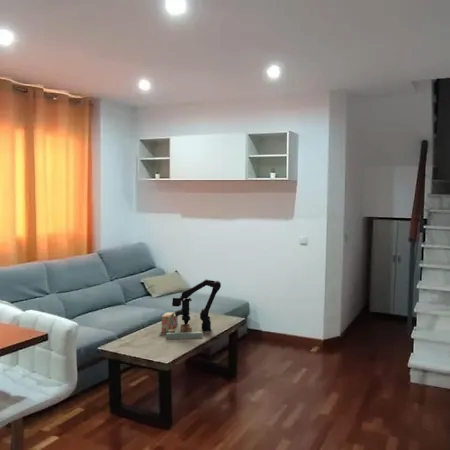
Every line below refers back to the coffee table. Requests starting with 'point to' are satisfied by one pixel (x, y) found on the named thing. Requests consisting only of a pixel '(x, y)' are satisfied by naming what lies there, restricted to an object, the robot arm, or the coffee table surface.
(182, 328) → the walnut brick
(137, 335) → the coffee table surface
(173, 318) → the stack of blocks
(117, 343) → the coffee table surface
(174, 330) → the oak cube
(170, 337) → the board
